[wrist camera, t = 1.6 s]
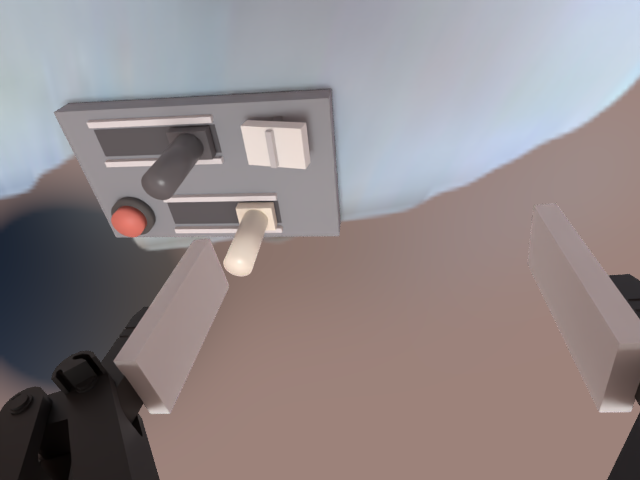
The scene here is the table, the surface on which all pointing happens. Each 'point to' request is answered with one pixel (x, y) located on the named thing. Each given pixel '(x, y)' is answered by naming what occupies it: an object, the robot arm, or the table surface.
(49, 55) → the table surface
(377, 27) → the table surface
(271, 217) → the cream tapered knob
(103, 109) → the panel
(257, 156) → the rocker
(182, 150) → the black lever
